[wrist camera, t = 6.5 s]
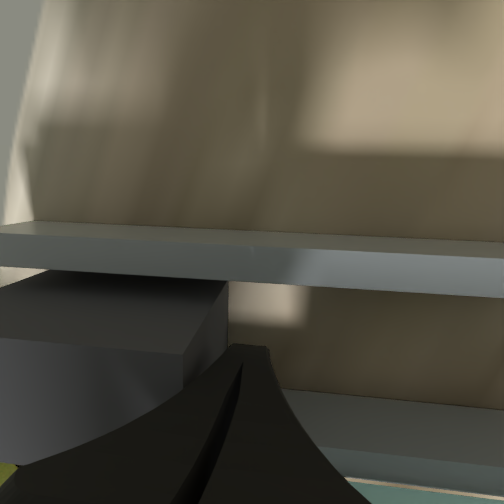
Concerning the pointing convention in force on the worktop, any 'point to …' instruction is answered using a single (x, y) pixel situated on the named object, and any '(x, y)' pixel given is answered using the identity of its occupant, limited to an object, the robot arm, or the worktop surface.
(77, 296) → the block
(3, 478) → the plant pot
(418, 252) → the grey frame
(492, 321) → the worktop surface
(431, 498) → the cover
